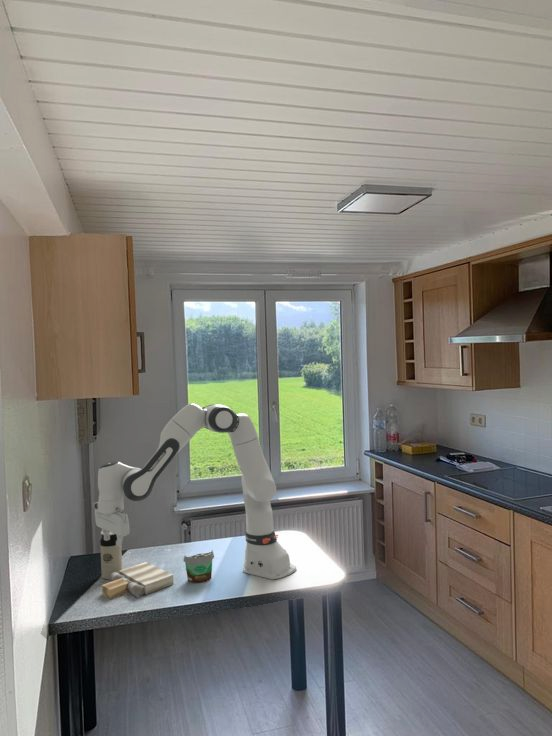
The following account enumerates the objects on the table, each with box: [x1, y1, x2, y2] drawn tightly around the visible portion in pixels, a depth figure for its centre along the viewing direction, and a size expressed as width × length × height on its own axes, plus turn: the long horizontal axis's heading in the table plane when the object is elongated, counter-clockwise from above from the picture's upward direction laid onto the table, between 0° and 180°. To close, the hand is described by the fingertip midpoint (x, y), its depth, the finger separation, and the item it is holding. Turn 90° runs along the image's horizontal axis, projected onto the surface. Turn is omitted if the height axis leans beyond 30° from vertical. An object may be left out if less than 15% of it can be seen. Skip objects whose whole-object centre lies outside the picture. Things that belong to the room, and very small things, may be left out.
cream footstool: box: [108, 561, 174, 598], centre depth 197 cm, size 20×16×4 cm
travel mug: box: [99, 531, 123, 580], centre depth 206 cm, size 8×8×18 cm
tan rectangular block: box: [101, 577, 132, 600], centre depth 190 cm, size 6×10×4 cm, turn 135°
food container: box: [183, 550, 215, 584], centre depth 198 cm, size 12×6×10 cm, turn 117°
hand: (113, 542), depth 189 cm, fingers open, 8 cm apart
